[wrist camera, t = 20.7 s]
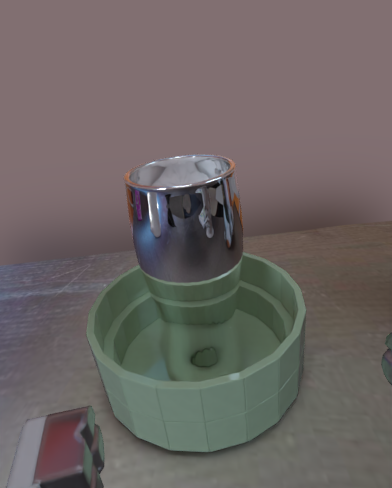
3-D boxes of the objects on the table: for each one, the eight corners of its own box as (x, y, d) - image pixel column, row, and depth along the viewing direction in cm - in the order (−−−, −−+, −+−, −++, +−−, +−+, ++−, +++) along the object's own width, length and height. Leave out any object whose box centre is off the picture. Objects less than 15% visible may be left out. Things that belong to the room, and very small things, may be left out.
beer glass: (142, 375, 26) (93, 184, 19) (187, 318, 31) (162, 152, 24) (226, 408, 23) (205, 193, 16) (261, 339, 28) (257, 154, 21)
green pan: (103, 487, 20) (75, 419, 17) (108, 321, 33) (93, 267, 30) (344, 421, 22) (354, 351, 19) (258, 289, 35) (257, 236, 32)
